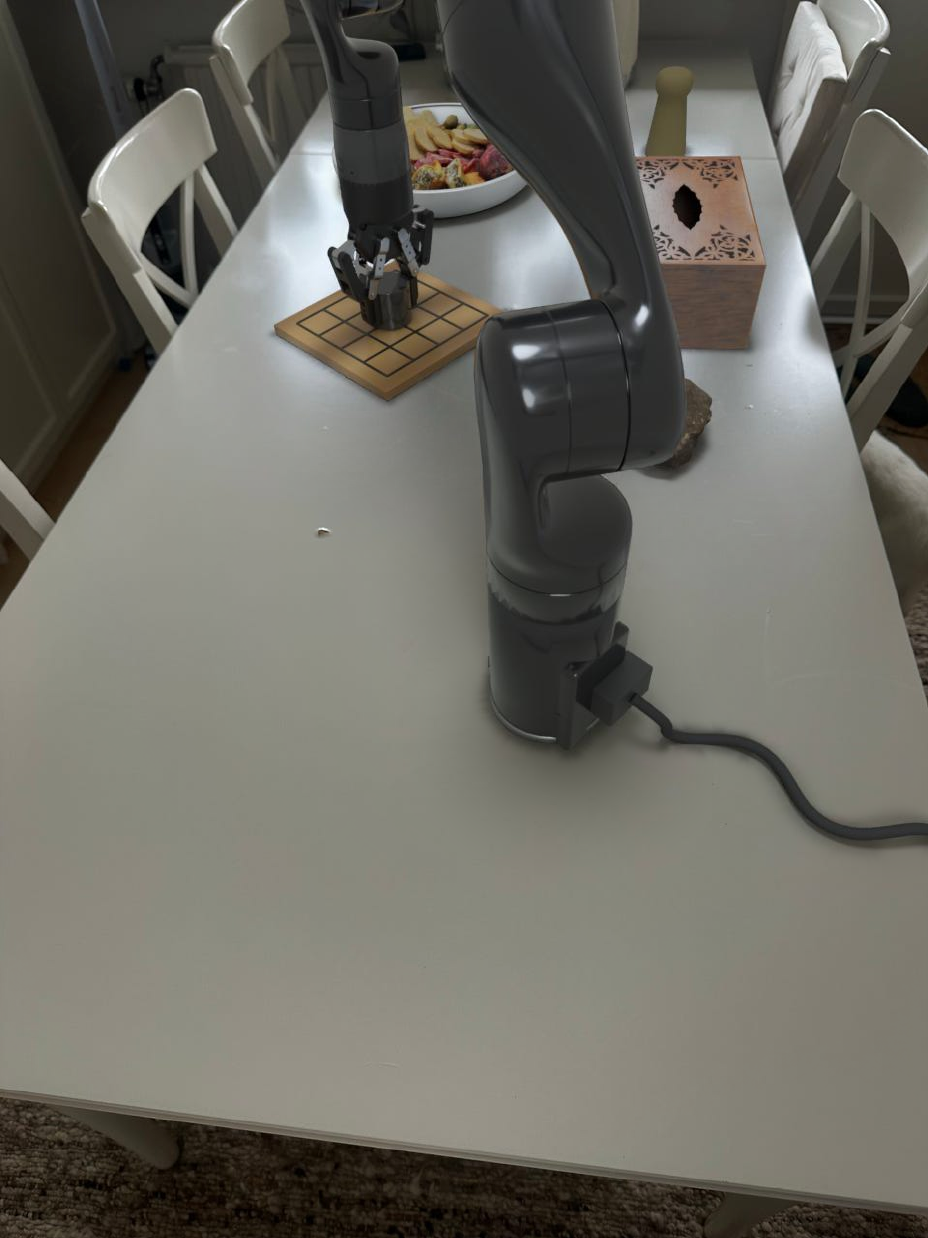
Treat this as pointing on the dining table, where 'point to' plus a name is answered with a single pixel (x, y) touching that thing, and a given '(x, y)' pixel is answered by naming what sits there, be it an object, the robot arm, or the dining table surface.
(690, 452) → the stone
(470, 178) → the bowl
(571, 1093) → the dining table surface
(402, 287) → the dark grey short cylinder
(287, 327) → the board
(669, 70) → the pepper shaker
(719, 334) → the tissue box cover
